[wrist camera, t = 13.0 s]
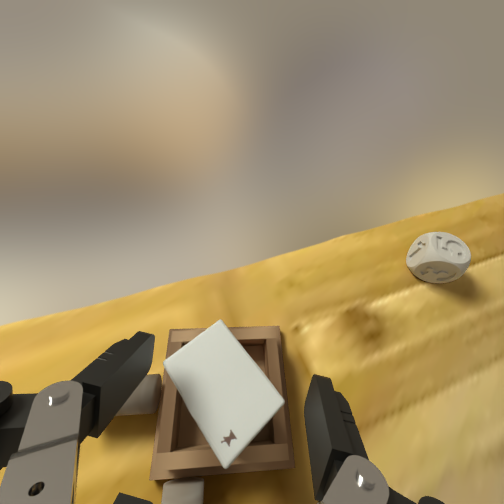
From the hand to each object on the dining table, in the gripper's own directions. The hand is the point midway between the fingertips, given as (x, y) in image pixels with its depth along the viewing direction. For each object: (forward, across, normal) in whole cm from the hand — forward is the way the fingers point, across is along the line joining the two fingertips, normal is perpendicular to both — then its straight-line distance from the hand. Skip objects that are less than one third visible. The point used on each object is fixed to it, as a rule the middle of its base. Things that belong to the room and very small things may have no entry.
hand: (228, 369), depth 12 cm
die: (+25, -23, -4) cm, 34 cm away
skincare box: (+9, 0, +10) cm, 14 cm away
